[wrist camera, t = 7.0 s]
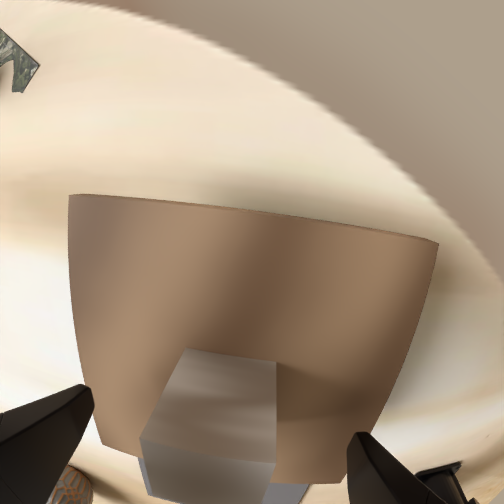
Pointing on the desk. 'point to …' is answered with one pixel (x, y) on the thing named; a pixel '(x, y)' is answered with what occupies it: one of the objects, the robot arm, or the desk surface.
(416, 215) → the desk surface
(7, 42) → the eiffel tower figurine
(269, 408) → the lid
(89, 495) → the vase
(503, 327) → the desk surface
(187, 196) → the desk surface
